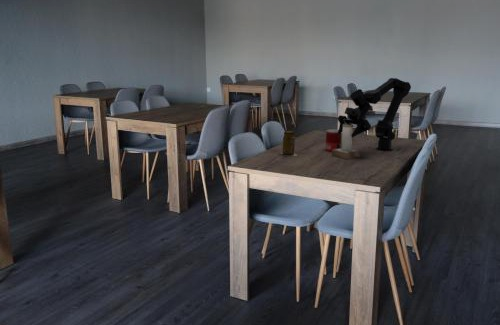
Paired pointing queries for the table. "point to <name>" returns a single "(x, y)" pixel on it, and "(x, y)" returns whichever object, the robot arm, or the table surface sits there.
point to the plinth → (345, 153)
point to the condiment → (288, 144)
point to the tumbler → (347, 137)
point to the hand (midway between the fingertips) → (345, 135)
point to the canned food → (333, 140)
